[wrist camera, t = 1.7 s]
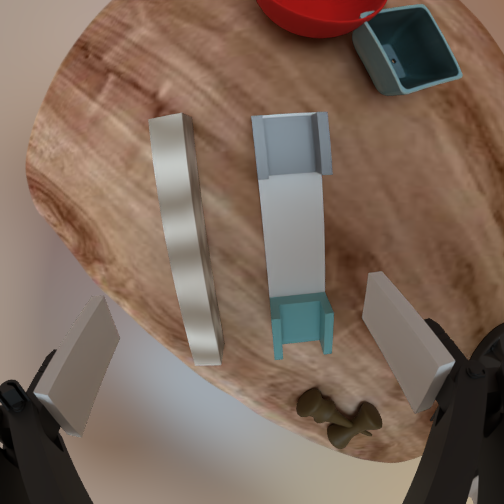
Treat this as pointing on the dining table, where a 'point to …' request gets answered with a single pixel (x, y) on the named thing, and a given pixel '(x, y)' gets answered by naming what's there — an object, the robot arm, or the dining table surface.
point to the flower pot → (404, 50)
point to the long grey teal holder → (295, 224)
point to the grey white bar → (186, 234)
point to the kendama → (338, 418)
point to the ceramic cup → (320, 15)
